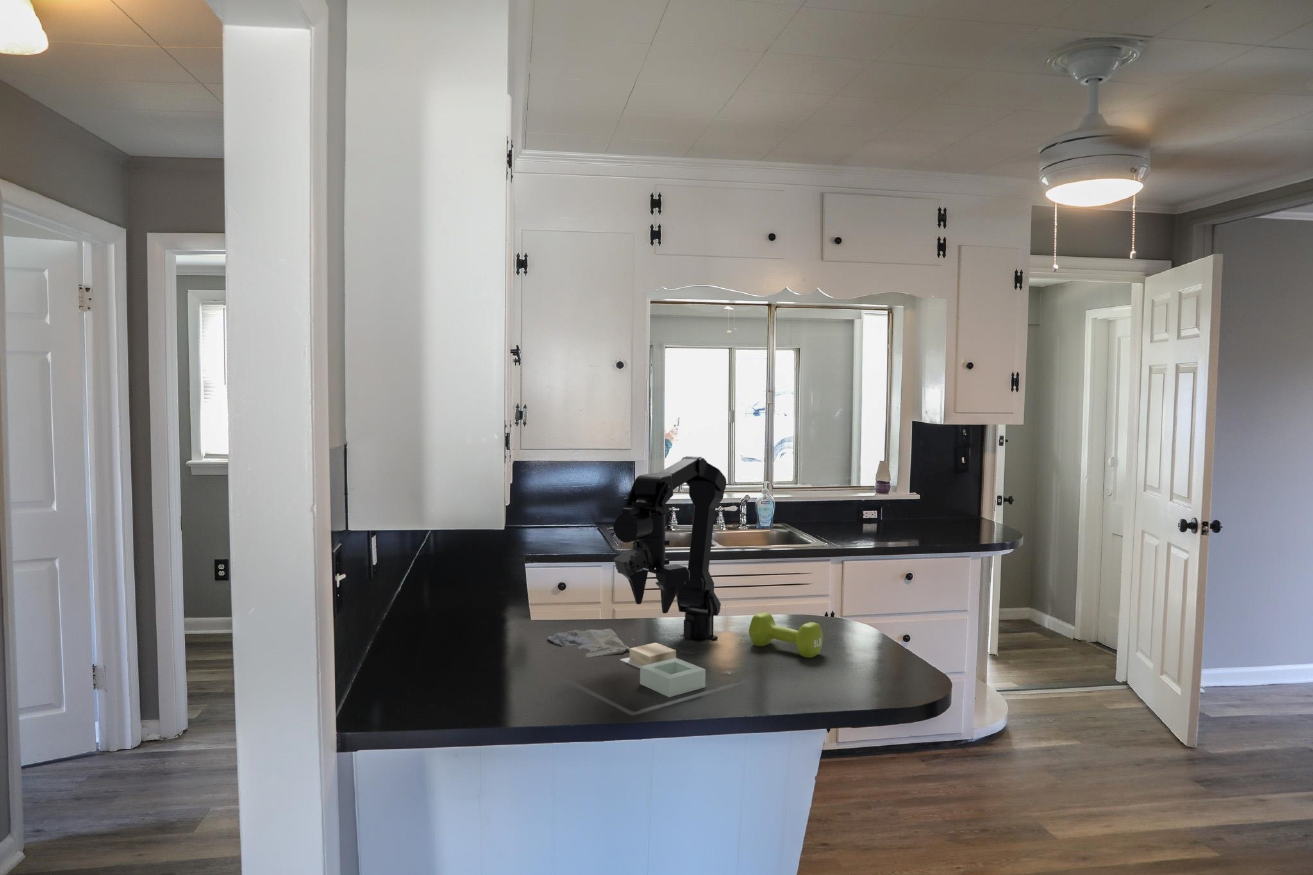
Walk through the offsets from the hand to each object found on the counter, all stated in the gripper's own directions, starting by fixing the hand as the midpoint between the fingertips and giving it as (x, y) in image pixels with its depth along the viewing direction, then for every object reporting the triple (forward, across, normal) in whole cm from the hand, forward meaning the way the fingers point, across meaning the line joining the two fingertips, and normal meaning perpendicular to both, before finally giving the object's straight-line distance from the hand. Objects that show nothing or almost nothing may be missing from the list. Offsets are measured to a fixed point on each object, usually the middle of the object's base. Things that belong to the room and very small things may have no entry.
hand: (651, 608), depth 176 cm
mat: (+12, 0, 0) cm, 12 cm away
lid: (+11, 0, 0) cm, 11 cm away
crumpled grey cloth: (+12, -18, -4) cm, 22 cm away
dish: (+12, +14, -6) cm, 19 cm away
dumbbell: (+12, +10, +30) cm, 34 cm away
